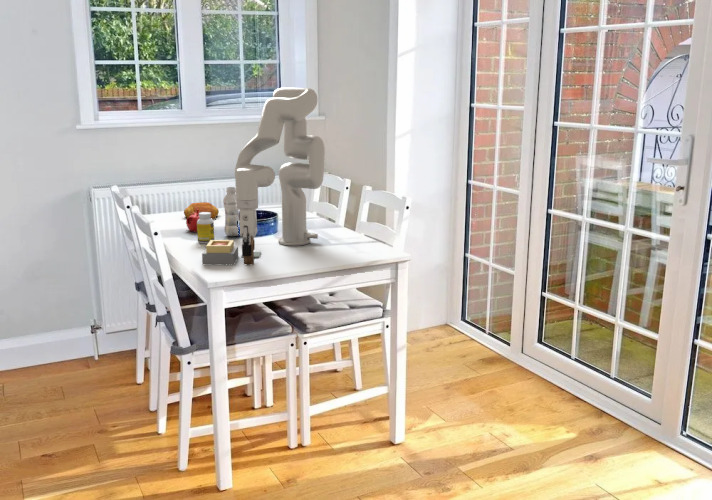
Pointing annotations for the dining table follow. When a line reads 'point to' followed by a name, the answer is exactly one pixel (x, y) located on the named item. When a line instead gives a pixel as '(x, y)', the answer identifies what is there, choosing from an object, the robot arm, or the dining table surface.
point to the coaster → (255, 255)
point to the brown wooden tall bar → (250, 259)
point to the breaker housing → (220, 253)
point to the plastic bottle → (231, 212)
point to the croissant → (201, 209)
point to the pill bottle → (205, 228)
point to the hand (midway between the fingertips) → (248, 252)
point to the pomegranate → (193, 221)
